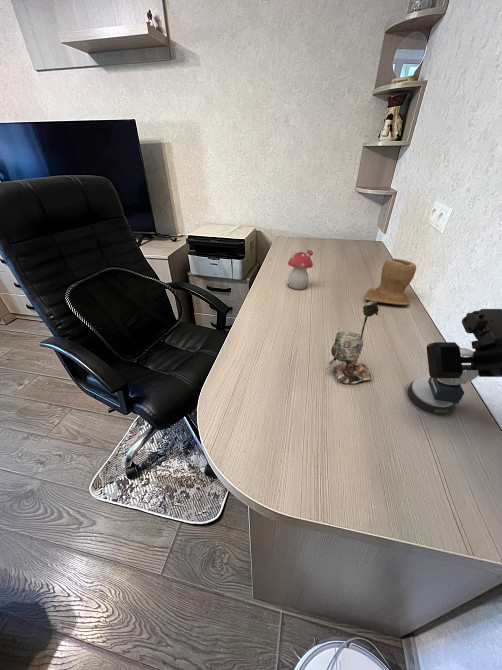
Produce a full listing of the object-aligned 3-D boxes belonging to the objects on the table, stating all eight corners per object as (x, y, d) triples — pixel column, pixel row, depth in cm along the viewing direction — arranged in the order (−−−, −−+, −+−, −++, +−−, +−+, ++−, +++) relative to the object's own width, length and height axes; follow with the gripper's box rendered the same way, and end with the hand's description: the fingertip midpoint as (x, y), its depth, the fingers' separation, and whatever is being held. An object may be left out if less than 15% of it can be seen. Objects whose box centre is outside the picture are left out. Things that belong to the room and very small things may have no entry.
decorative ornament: (311, 285, 113) (316, 248, 104) (307, 292, 108) (312, 254, 99) (289, 281, 116) (292, 245, 107) (284, 288, 111) (287, 250, 102)
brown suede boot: (404, 295, 106) (418, 256, 97) (409, 310, 96) (425, 269, 88) (363, 290, 109) (372, 252, 101) (363, 304, 100) (374, 264, 91)
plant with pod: (323, 360, 74) (337, 293, 63) (368, 366, 72) (390, 297, 61) (324, 382, 68) (339, 311, 56) (373, 388, 66) (399, 316, 54)
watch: (418, 379, 62) (436, 339, 56) (458, 386, 60) (482, 346, 54) (424, 397, 58) (444, 356, 51) (467, 405, 56) (495, 364, 50)
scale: (460, 414, 60) (466, 406, 58) (419, 414, 60) (423, 406, 58) (437, 384, 67) (442, 376, 66) (400, 384, 67) (404, 376, 66)
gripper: (577, 304, 42) (490, 325, 58) (455, 303, 43) (401, 325, 58) (593, 377, 40) (499, 379, 56) (465, 377, 41) (406, 379, 56)
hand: (451, 364), depth 56 cm, fingers closed on watch, 8 cm apart
